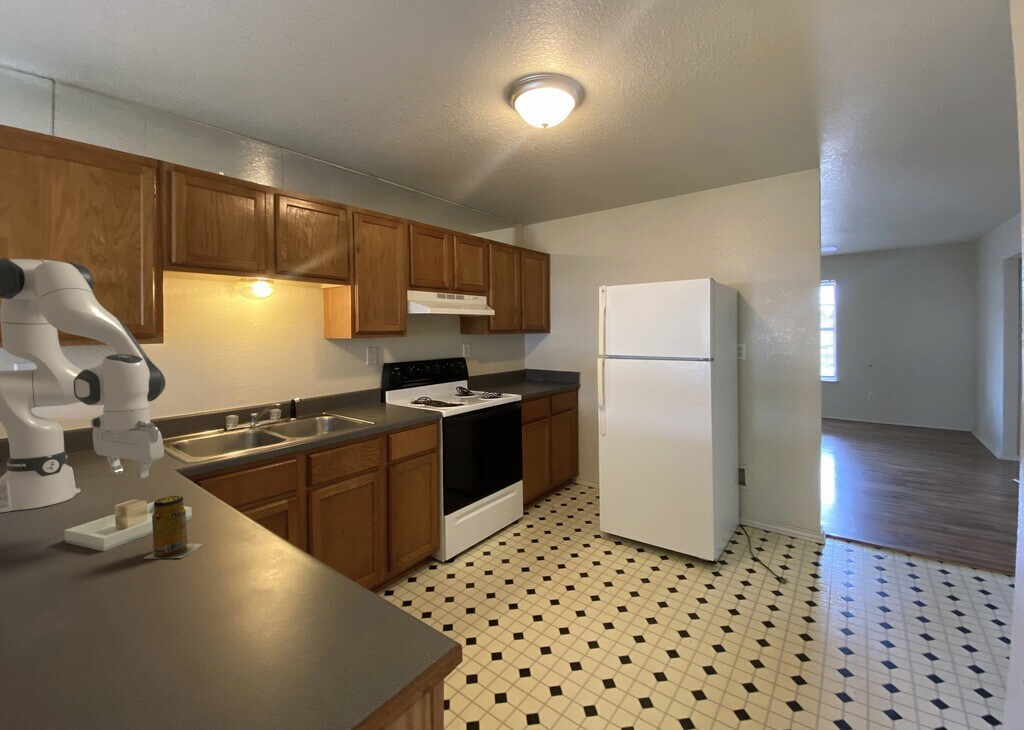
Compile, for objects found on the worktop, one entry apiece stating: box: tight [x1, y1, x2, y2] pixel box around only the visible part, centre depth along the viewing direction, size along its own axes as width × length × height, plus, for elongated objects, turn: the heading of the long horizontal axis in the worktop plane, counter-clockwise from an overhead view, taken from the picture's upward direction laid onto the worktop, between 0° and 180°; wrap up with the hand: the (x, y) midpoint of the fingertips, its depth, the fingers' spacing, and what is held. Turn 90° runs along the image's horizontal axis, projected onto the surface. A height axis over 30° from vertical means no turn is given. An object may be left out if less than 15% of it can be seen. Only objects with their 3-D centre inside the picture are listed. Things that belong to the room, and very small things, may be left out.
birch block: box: [114, 498, 148, 530], centre depth 115 cm, size 4×4×6 cm
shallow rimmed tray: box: [64, 501, 193, 552], centre depth 115 cm, size 14×20×3 cm
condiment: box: [143, 495, 204, 560], centre depth 103 cm, size 7×8×12 cm
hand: (130, 475), depth 114 cm, fingers open, 8 cm apart
